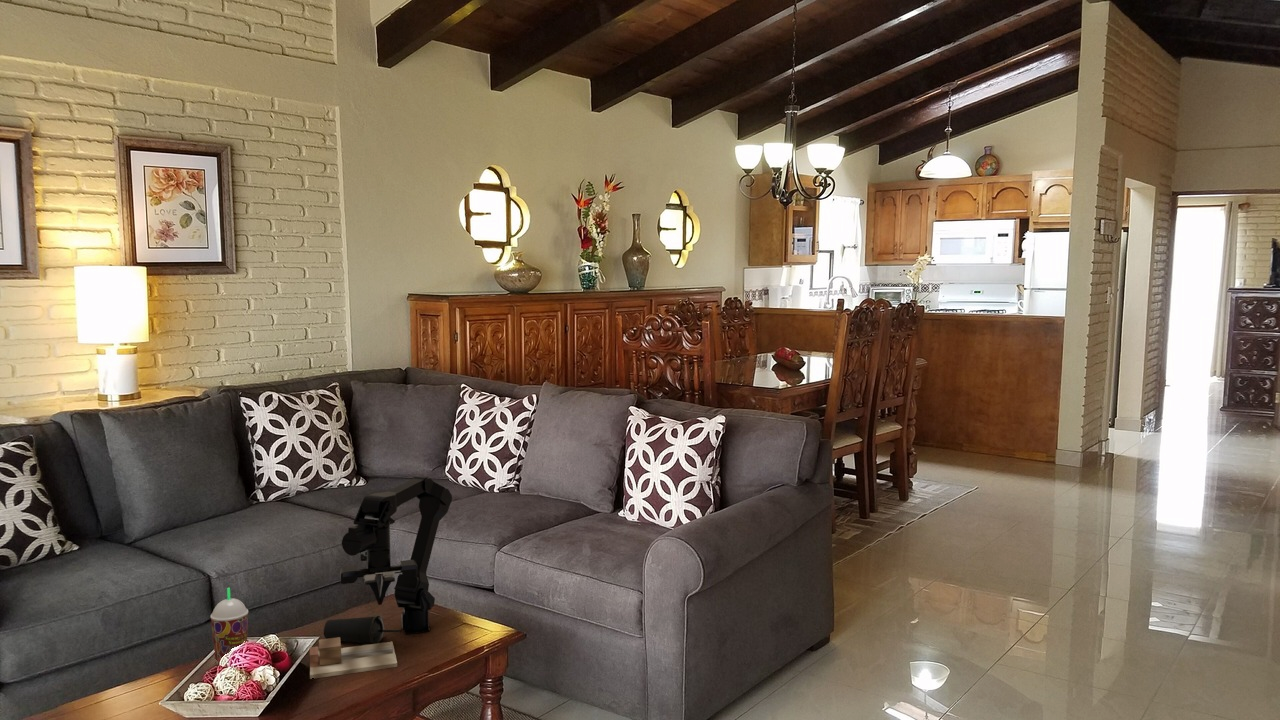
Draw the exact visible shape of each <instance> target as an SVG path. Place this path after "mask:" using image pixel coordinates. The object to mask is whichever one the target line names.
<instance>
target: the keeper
mask: <svg viewBox="0 0 1280 720" xmlns="http://www.w3.org/2000/svg"><path fill="white" fill-rule="evenodd" d="M341 642H342V641H340V637H337V638H329V639H326V638H323V639H322V638H321V639H318V650H319V663H320V665H327V664H335V663H341V648H342V643H341Z"/></svg>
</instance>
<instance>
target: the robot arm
mask: <svg viewBox="0 0 1280 720" xmlns="http://www.w3.org/2000/svg"><path fill="white" fill-rule="evenodd" d="M414 498H416V499H417V500H419V501H418V510H419V513H420V517H421V518H420V521H419V525H418V529H417V532H416V537H415V541H414V545H413V548H412V552H411V555H410V559H407V560H405V559H404V560H400V561H399V565H398V564H397V565H391V562H392V561H391V528H390V527H391V525H393V524H394V523H396V521H395V519H394V518H392V516H393V515H395V514H396V513H397V511H398V508H399V507H400V506H401V505H404V504H405V503H407V502H409V501H411V500H413V499H414ZM452 500H453V495H452V494H451V491H450V490H449V488H446V487H445V486H443V485H441V484H439V483H437V482H435V481H434V480H433V479H431V478H430V477H428V476H422V475H421V476H419V475H415V476H412V478H411V479H409V480H407V481H405V482H403V483H401V484H399V485H398V486H396V487H394V488H392V489H390V490H387V491H383V492H375V493H371V494H367V495H366V496H364V497H363V500H362V502H361V503H360V506H359V508H358V511H357V512H356V515H355V518H354V521H353V526H349V527H347V529H348V530H347V531H348V532H346V533H345V534H344V535H343V537H342V540H341V546H342V550H343V551H344V553H346V554H347V555H349V556H356V555H359V562H366V564H365V565H366V568H361V569H359V568H357V565H351V566H350V565H349V566H348V565H347V566H341V568H339V569H340V570H339V574H340V575H339V576H340V578H339V580H340V584H341V585H346V584H355V583H356V582H357V580H358V578H363V580H364V581H363V582H364V585H367V586H368V585H369V587H370V589H371V590H372V592H373V594H374V598H375V599H376V602H377V605H378V606H382V604H383V602H384V600H385V596H386V594H387V591H388V589H389V587H390V585H391V583H394V582H395V581H396V584H395V586H394V588H393V589H394V591H393V592H394V594H393V595H394V598H395V601H396V605H397V608H400V609H401V608H402V609H403V611H402V612H401V613H400V614H401V628H402V629H401V630H403V631H404V635H411V634H419V633H420V634H421V633H425V632H426V633H427V632H430V630H431V629H430V625H429V624H430V623H429V611H430V610H432V609H433V607H434V606H435V602H436V601H435V600H436V599H435V597H434V596H433V594H432V593H431V592H429V587H430V583H429V579H428V575H427V570H428V566H429V563H430V558H431V554H432V551H433V546H434V543H435V539H436V536H437V532H438V527H439V523H440V521H441V520H442V519H443V517H444V516H446V514H448V511H449V509H450V506H451V504H452ZM396 574H398V576H397V578H395V575H396ZM377 576H380V577H381V578H380V579H381V580H380V581H381V583H380V591H379V585H378V579H377ZM395 579H396V580H395Z"/></svg>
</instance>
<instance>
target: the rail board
mask: <svg viewBox="0 0 1280 720" xmlns="http://www.w3.org/2000/svg"><path fill="white" fill-rule="evenodd" d="M391 668H398V661H397V656H396V651H395V647H394V642H393V641H387V642H379V643H377V644H362V645H355V646H348V647H347V646H346V647H341V663H335V664H327V665H320V663H319V645H318V646H312V647H309V679H310V680H313V679H312V678H314V679H319V678H320V679H322V678H326V677H334V676H343V675H349V674H355V673H363V672H369V671H370V672H371V671H377V670H384V669H391Z"/></svg>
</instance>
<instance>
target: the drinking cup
mask: <svg viewBox="0 0 1280 720" xmlns="http://www.w3.org/2000/svg"><path fill="white" fill-rule="evenodd" d="M384 633H402V629H385V626H384V620H383V618H382V616H381V615H375V616H366V617H353V618H352V617H350V618H338V619H329V620H327V621H326V622H325V624H324V627H323V636H324V639H329V638H337V637H340V641H341V642H348V643H356V644H362V645H370V644H377V643H381V640H382V639H383V636H384Z"/></svg>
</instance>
